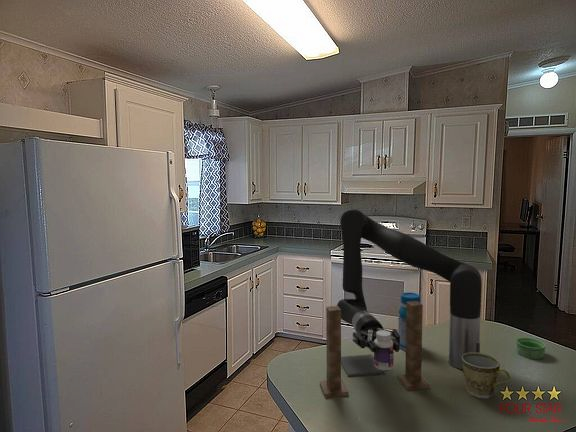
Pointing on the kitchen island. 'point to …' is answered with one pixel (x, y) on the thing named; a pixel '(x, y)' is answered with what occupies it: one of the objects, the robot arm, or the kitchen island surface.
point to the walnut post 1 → (333, 355)
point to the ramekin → (530, 348)
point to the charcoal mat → (360, 365)
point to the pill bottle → (384, 350)
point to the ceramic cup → (481, 374)
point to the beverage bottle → (402, 317)
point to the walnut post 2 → (413, 348)
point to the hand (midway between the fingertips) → (387, 349)
